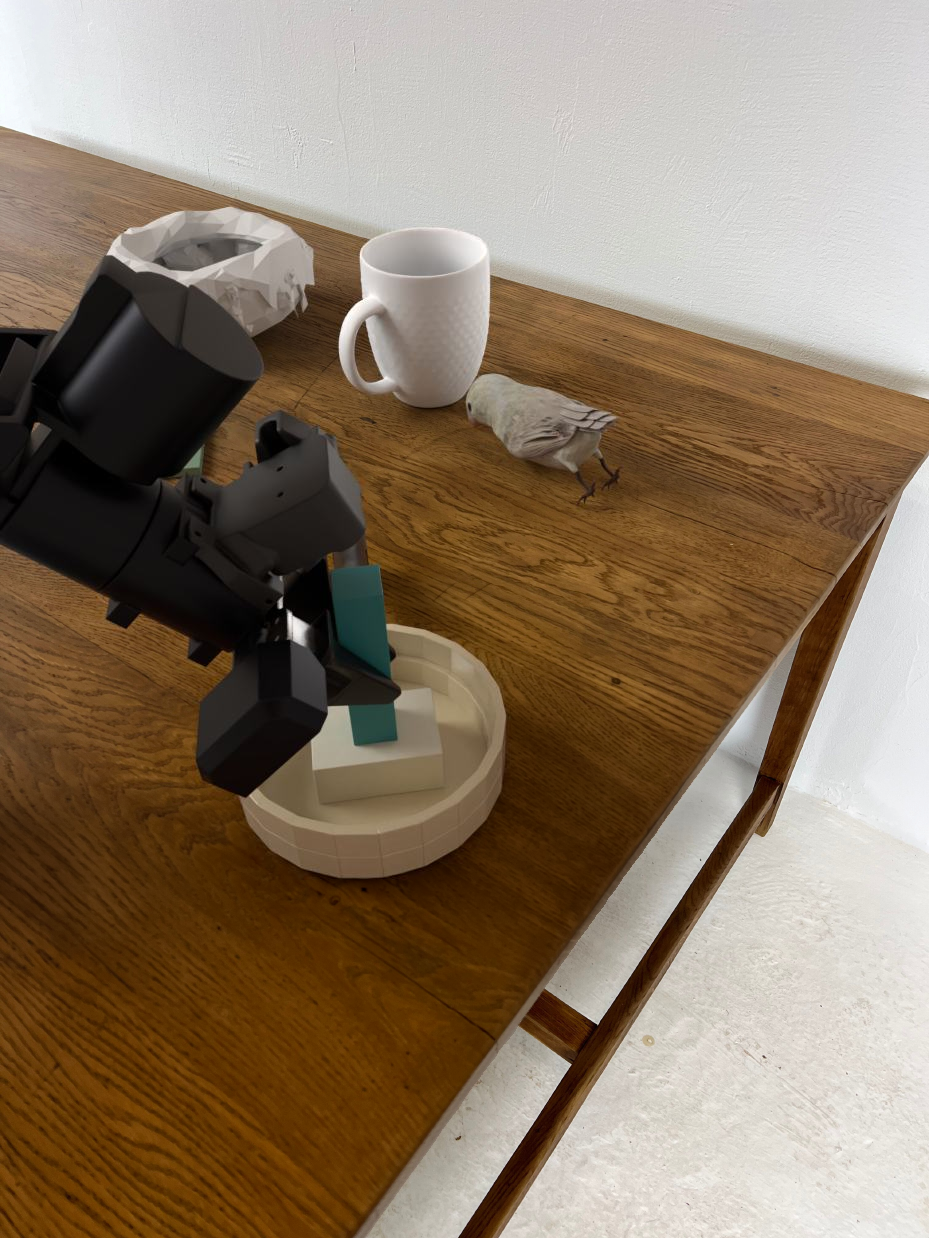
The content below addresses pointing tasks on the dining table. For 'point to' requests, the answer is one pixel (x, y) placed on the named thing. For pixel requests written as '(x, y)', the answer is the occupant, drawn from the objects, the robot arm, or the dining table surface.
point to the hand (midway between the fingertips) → (393, 678)
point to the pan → (406, 822)
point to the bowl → (226, 261)
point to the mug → (421, 314)
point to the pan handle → (352, 555)
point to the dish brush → (373, 710)
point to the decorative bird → (540, 424)
